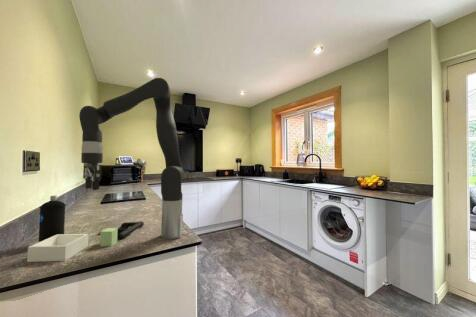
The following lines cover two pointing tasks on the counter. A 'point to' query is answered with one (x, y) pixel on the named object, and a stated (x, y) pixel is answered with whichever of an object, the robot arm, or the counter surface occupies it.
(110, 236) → the green block
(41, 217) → the aerosol can
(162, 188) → the robot arm
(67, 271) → the counter surface
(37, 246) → the white bin
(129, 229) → the door handle
